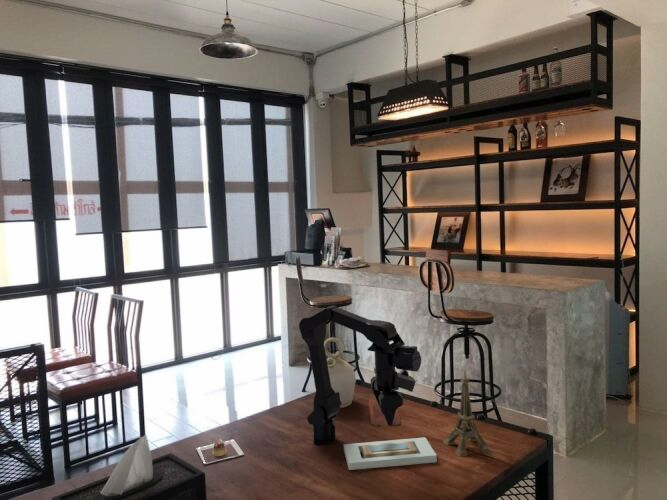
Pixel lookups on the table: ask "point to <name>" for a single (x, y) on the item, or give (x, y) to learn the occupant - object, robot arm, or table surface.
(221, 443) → the dessert
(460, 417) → the eiffel tower
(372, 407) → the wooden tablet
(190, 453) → the table surface
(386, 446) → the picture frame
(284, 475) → the table surface
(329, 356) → the jug
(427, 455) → the pale grey open frame
